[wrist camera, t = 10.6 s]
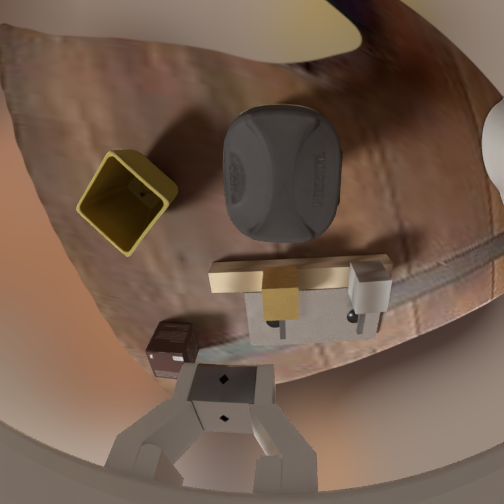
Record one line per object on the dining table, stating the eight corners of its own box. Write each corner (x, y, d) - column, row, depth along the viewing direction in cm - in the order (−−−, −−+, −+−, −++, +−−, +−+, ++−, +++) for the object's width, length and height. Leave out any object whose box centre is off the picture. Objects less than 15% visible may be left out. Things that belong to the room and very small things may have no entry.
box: (166, 346, 49) (153, 376, 43) (159, 320, 47) (143, 350, 40) (199, 349, 49) (189, 381, 42) (194, 322, 46) (182, 354, 39)
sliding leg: (296, 265, 36) (298, 287, 32) (297, 332, 41) (298, 357, 36) (263, 267, 37) (261, 289, 32) (268, 333, 41) (267, 358, 37)
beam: (386, 249, 38) (407, 279, 31) (377, 312, 42) (392, 347, 35) (212, 257, 41) (198, 289, 33) (223, 320, 45) (213, 356, 38)
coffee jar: (245, 109, 32) (212, 100, 15) (313, 109, 31) (352, 101, 15) (247, 187, 36) (220, 254, 19) (312, 188, 35) (342, 256, 19)
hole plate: (382, 281, 40) (384, 286, 39) (373, 334, 44) (375, 338, 43) (245, 289, 42) (244, 293, 41) (251, 341, 47) (250, 346, 46)
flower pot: (155, 229, 39) (127, 259, 31) (110, 189, 37) (74, 210, 29) (194, 182, 36) (171, 203, 28) (145, 139, 34) (109, 148, 26)
